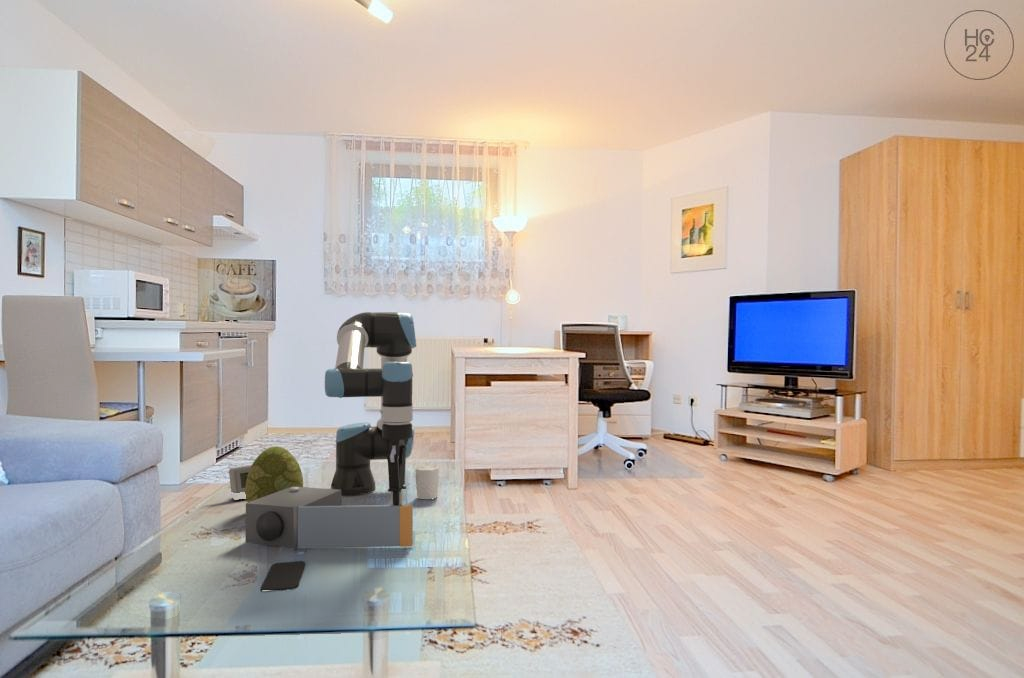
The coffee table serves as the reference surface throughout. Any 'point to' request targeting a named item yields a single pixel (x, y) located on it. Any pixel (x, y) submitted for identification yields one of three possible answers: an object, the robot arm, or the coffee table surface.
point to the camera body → (283, 513)
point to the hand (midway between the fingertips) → (397, 516)
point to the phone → (284, 576)
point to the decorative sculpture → (272, 473)
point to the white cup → (427, 481)
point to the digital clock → (238, 478)
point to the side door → (353, 526)
